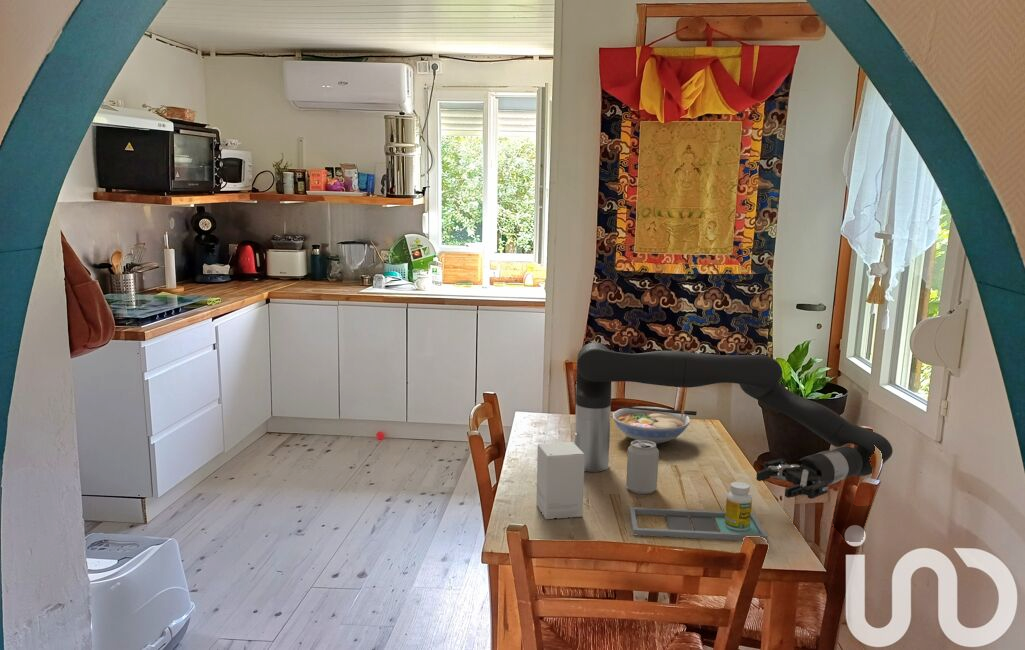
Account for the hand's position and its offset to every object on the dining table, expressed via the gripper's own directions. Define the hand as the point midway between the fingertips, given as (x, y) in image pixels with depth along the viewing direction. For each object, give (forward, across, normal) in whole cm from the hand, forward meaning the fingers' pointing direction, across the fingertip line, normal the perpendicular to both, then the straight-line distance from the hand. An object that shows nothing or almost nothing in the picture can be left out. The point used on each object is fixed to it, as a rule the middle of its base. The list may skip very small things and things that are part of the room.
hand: (771, 484), depth 169 cm
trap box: (+18, -4, +7) cm, 20 cm away
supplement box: (+41, -24, +8) cm, 48 cm away
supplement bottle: (+11, +1, +7) cm, 13 cm away
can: (+16, -26, +10) cm, 32 cm away
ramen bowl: (-9, -55, +15) cm, 58 cm away
